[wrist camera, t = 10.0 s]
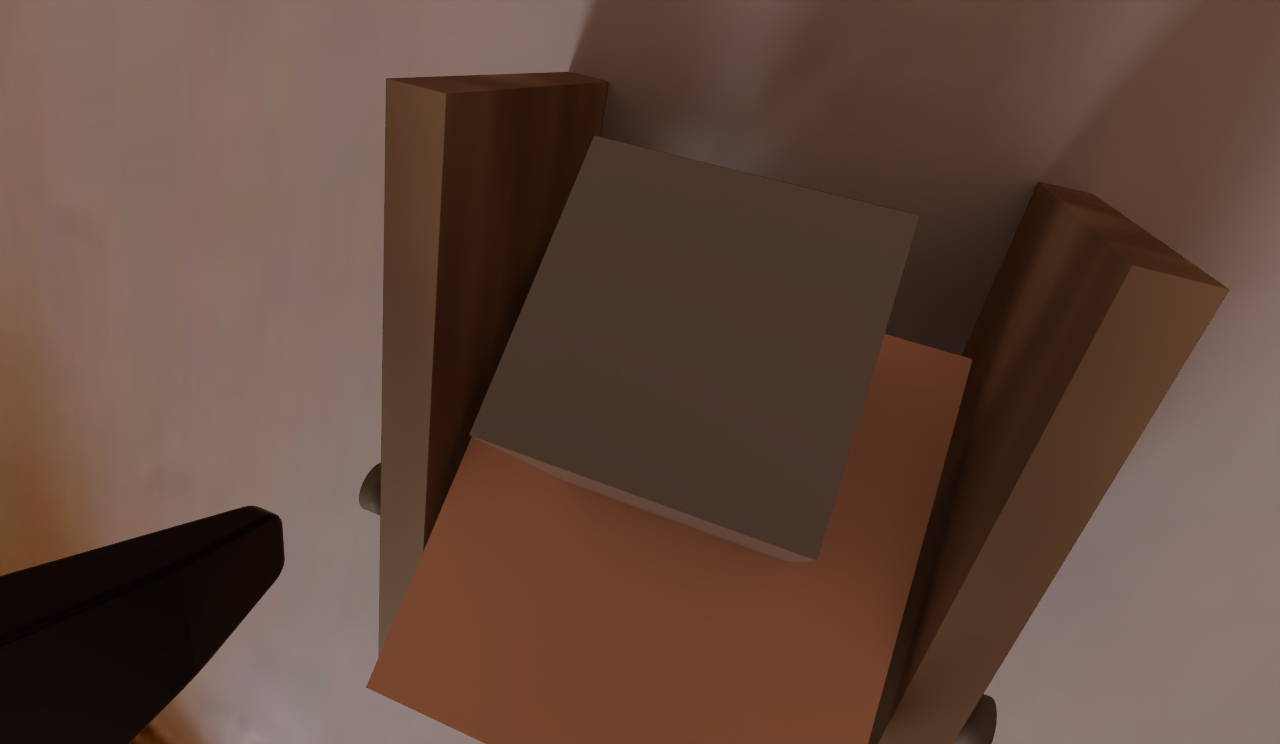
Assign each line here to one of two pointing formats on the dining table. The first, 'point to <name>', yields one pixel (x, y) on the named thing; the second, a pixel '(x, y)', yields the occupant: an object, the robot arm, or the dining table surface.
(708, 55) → the dining table surface
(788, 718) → the trapdoor
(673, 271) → the taupe matte cube
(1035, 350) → the trapdoor frame
